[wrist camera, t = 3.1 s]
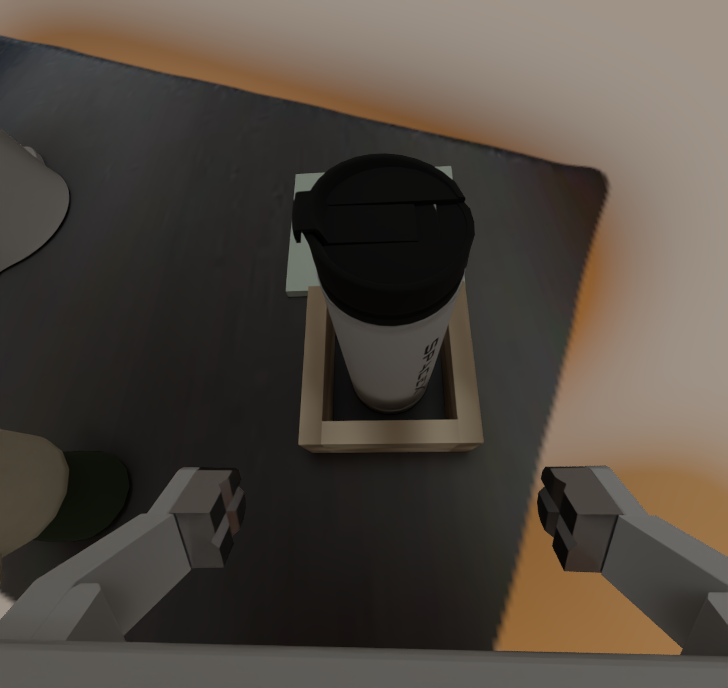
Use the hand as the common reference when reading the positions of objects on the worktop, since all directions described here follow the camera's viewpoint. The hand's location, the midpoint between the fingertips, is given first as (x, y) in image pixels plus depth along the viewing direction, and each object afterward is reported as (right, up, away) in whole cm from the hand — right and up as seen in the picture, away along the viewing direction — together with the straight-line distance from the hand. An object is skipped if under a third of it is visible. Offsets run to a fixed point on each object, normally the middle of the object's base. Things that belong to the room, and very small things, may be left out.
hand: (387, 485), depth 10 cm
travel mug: (+1, +1, +21) cm, 21 cm away
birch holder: (+1, +1, +21) cm, 21 cm away
